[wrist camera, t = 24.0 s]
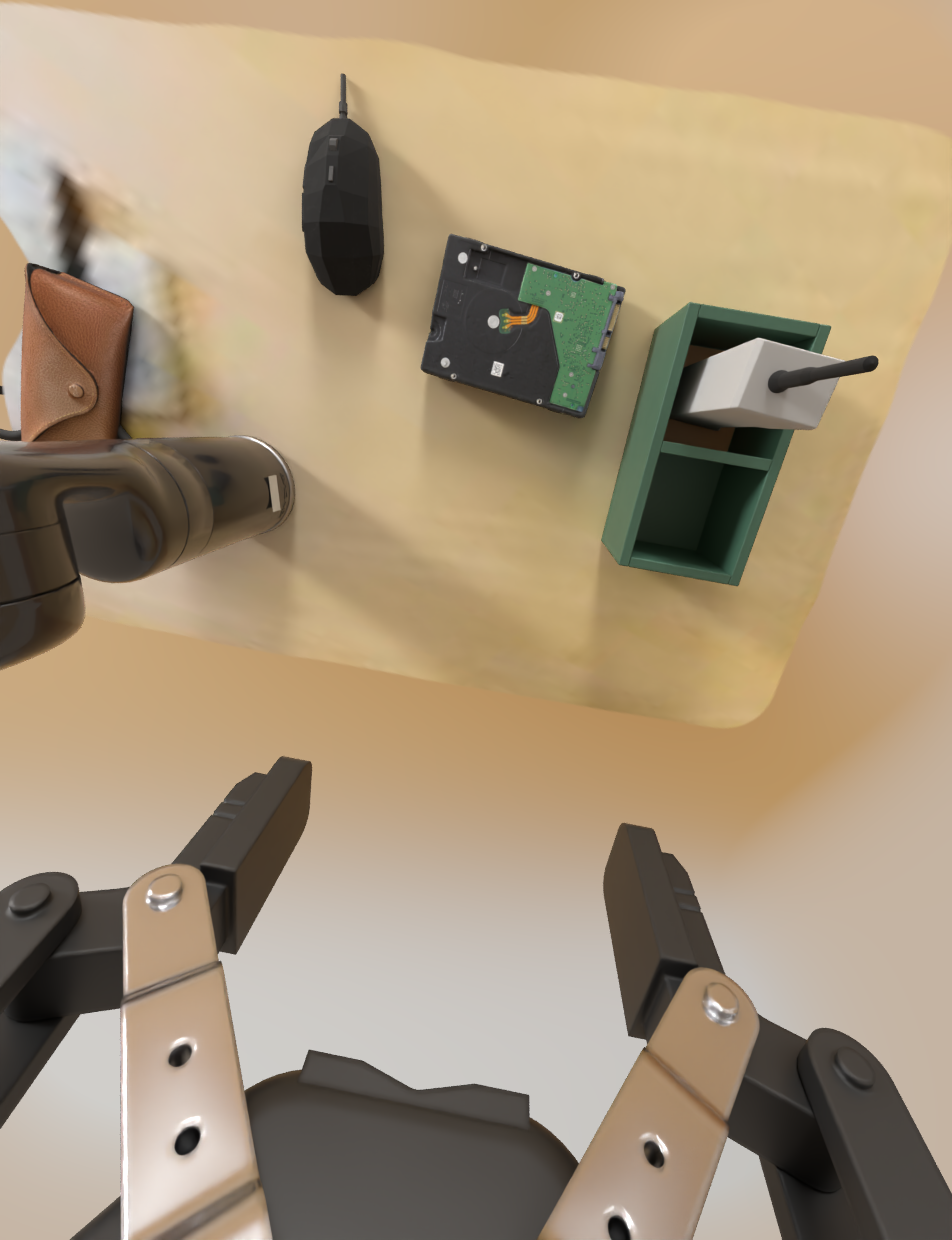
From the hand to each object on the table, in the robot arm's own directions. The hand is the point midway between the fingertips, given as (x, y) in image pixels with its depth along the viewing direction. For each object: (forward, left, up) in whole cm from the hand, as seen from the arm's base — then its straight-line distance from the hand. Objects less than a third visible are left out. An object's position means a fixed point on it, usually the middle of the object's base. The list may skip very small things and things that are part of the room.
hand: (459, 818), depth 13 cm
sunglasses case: (-42, +7, -40) cm, 59 cm away
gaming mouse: (-18, +25, -40) cm, 51 cm away
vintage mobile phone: (+14, +14, -39) cm, 44 cm away
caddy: (+14, +10, -40) cm, 44 cm away
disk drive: (-2, +17, -40) cm, 44 cm away
